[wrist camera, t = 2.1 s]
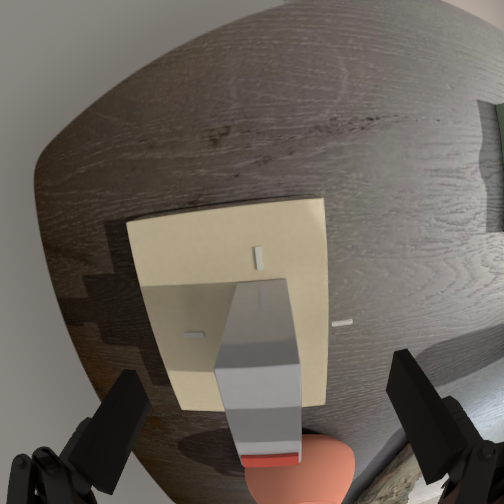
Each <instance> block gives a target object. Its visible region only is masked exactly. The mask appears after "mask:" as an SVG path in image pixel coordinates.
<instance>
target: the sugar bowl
mask: <svg viewBox="0 0 504 504" xmlns="http://www.w3.org/2000/svg"><path fill="white" fill-rule="evenodd" d="M354 469H355V458H354V453H353V451H352V450H351V448H350V447H349V446H348V445H346V444H344V443H343V442H341V441H339V440H337V439H334V438H332V437H329V436H327V435H324V434H319V435H318V434H302V459H301V462H299V465H291V466H276V467H245V479H246V483H247V487H248V489H249V491H250V493H251V495H252V497H253V498H254V500H255V501H256V502H257V504H341V502H342V501H343V499H344V497H345V495H346V493H347V491H348V490H349V487H350V485H351V483H352V480H353V476H354Z"/></svg>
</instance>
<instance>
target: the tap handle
mask: <svg viewBox="0 0 504 504" xmlns="http://www.w3.org/2000/svg"><path fill="white" fill-rule="evenodd" d="M213 370H214V374H215V377H216V381H217V385H218V389H219V392H220V396H221V399H222V403H223V406H224V410H225V413H226V417H227V420H228V423H229V427H230V430H231V433H232V436H233V440H234V443H235V446H236V449H237V452H238V455H239V458H240V461H241V464H242V465H243V467H276V466H291V465H299V462H301V459H302V391H301V362H300V355H299V349H298V342H297V336H296V330H295V324H294V317H293V311H292V305H291V299H290V294H289V288H288V282H287V279H278V280H268V281H257V282H245V283H237V285H236V289H235V292H234V296H233V300H232V303H231V307H230V310H229V314H228V318H227V321H226V325H225V329H224V332H223V336H222V340H221V343H220V347H219V351H218V355H217V358H216V362H215V366H214V369H213Z"/></svg>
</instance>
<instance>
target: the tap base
mask: <svg viewBox="0 0 504 504" xmlns="http://www.w3.org/2000/svg"><path fill="white" fill-rule="evenodd" d="M126 225H127V230H128V235H129V240H130V245H131V250H132V255H133V259H134V263H135V268H136V272H137V276H138V280H139V284H140V288H141V292H142V295H143V299H144V303H145V306H146V310H147V313H148V317H149V320H150V323H151V327H152V330H153V333H154V336H155V339H156V342H157V345H158V348H159V351H160V354H161V357H162V360H163V363H164V366H165V368H166V371H167V374H168V376H169V379H170V382H171V384H172V387H173V389H174V392H175V394H176V397H177V399H178V402H179V404H180V407H181V409H182V410H197V411H225V410H224V406H223V403H222V399H221V396H220V392H219V389H218V385H217V381H216V377H215V374H214V370H213V369H214V366H215V362H216V358H217V355H218V351H219V347H220V343H221V340H222V336H223V332H224V329H225V325H226V321H227V318H228V314H229V310H230V307H231V303H232V300H233V296H234V292H235V289H236V285H237V283H245V282H257V281H268V280H278V279H287V282H288V288H289V294H290V299H291V305H292V311H293V317H294V324H295V330H296V336H297V342H298V349H299V355H300V362H301V391H302V407H309V406H317V405H324V404H325V398H326V382H327V360H328V262H327V239H326V222H325V208H324V199H323V198H322V197H320V196H317V195H315V194H310V195H298V196H288V197H277V198H267V199H258V200H249V201H240V202H232V203H224V204H216V205H209V206H201V207H194V208H187V209H180V210H174V211H167V212H161V213H155V214H149V215H144V216H142V217H139V218H136V219H134V220H131V221H129V222H127V223H126ZM352 322H353V319H352V318H350V319H343V320H336V321H332V327H334V326H341V325H348V324H352Z"/></svg>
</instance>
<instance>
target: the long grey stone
mask: <svg viewBox="0 0 504 504" xmlns="http://www.w3.org/2000/svg"><path fill="white" fill-rule="evenodd" d="M463 411H464V410H463ZM422 475H423V474H422V472H421V469H420V467H419V464H418V462H417V459H416V457H415V455H414V452H413V450H412V447H411V445H410V443H408V444H407V445H406V446H405V448H404V449H403V450H402V451H401V452H400V453H399V454H397V455H396V456H395V457H394V460H393V461H392V462H391V463H390V464H389V465H388V466H387V467H385V469H384V470H383V471H382V472H381V473H380V474H379V475H377V476H376V477H375V480H374V482H373V483H372V484H371V485H370V487H368V489H366V490H364V491H363V493H362V494H361V495H360V497H359V498H358V499H357V500H356V501H355V502H354V503H353V504H407V503H408V500H409V498H408V494H409V493H410V492H411V491H412V490H413V488H414V483H415V482H416V481H417V480H419V478H420V477H421V476H422Z"/></svg>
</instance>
